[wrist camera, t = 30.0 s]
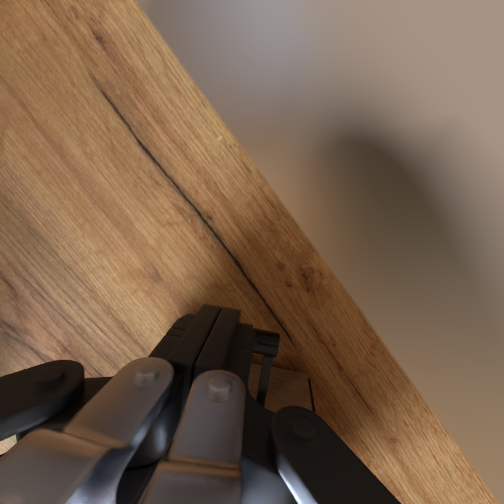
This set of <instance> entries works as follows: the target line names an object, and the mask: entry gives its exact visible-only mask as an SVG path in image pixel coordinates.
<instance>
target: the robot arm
mask: <svg viewBox="0 0 504 504" xmlns="http://www.w3.org/2000/svg"><path fill="white" fill-rule="evenodd" d="M240 318H241V310H237V309H232V308H226V307H223V308H222V307H220V306H214V305H208V304H203V305H202V307H201V308H200V310H199V311H198V313H197V314H196V315H193V314H186V315H184V316H183V317H181V318H179V319H177V321H176V322H175V323H174V324H173V326H172V327H171V329H169V331H168V332H167V333H166V335H165V336H164V337H163V338H162V340H161V341H160V342H159V343H158V345H157V346H156V347H155V348H154V350H153V351H152V352H151V354H150V355H149V356H148V357H145V358H140V359H137V360H134V361H132V362H130V363H128V364H127V365H125V366H124V367H123V368H122V369H121V370H120V371H119V372H118V373H117V374H116V375H115V376H113V377H98V378H84V368H83V366H82V365H81V364H80V363H78V362H76V361H72V360H56V361H51V362H47V363H44V364H40V365H37V366H34V367H31V368H28V369H24V370H21V371H18V372H15V373H12V374H8V375H5V376H2V377H0V441H2V440H4V439H6V438H9V437H11V436H13V435H15V434H16V439H17V443H16V444H15V445H14V446H13V447H12V448H11V449H9V450H8V451H7V452H6V453H4V454H2V455H0V504H401V503H400V502H399V501H398V500H397V499H396V498H395V497H394V496H393V495H392V494H391V492H390V491H389V490H388V489H387V488H386V487H385V486H384V485H383V484H382V483H381V482H380V481H379V480H378V478H377V477H376V476H375V475H374V474H373V473H372V472H371V471H370V470H369V469H368V468H367V467H366V466H365V464H364V463H363V462H362V461H361V460H360V459H359V458H358V457H357V456H356V455H355V454H354V453H353V452H352V450H351V449H350V448H349V447H348V446H347V445H346V444H345V443H344V442H343V441H342V440H341V439H340V438H339V436H338V435H337V434H336V433H335V432H334V431H333V430H332V429H331V428H330V427H329V426H328V425H327V424H326V422H325V421H324V420H323V419H322V418H321V417H320V416H318V415H317V414H316V413H314V412H313V411H311V410H309V409H306V408H304V407H300V406H286V407H283V408H281V409H279V410H278V411H277V412H276V413H274V412H272V411H270V410H268V409H266V408H265V407H263V406H261V405H260V404H259V403H258V402H257V401H255V400H254V398H253V397H252V396H251V394H250V392H249V389H248V380H249V374H250V368H251V362H252V356H253V349H254V343H255V336H256V332H255V330H254V328H253V326H252V325H249V324H244V323H240ZM175 432H176V433H175ZM174 434H175V436H174ZM173 437H174V439H173ZM172 439H173V442H172V445H171V448H170V451H169V453H168V449H169V446H170V443H171V441H172Z"/></svg>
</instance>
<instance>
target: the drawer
mask: <svg viewBox="0 0 504 504" xmlns="http://www.w3.org/2000/svg"><path fill="white" fill-rule="evenodd" d="M254 330H255V332H256V336H255V343H254V349H253V353H255V354H260V355H263V361H262V365H259V364H254V363H251V368H250V374H249V380H248V389H249V392H250V394H251V396H252V397H253V398H254V400H255V401H257V402H258V403H259V404H260V405H261V406H263V407H265V408H266V409H268V410H270V411H272V412H274V413H276V412H277V411H278V410H279V409H281V408H283V407H286V406H300V407H304V408H306V409H309V410H311V411H312V404H311V398H310V391H309V384H308V378H307V374H306V373H302V372H296V371H291V370H286V369H281V368H275V367H271V366H272V360H273V357H277V354H278V349H279V341H280V334H279V333H278V332H272V331H266V330H261V329H255V328H254ZM175 433H176V432H175ZM174 436H175V434H174ZM173 439H174V437H173ZM173 439H172V441H173Z"/></svg>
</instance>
